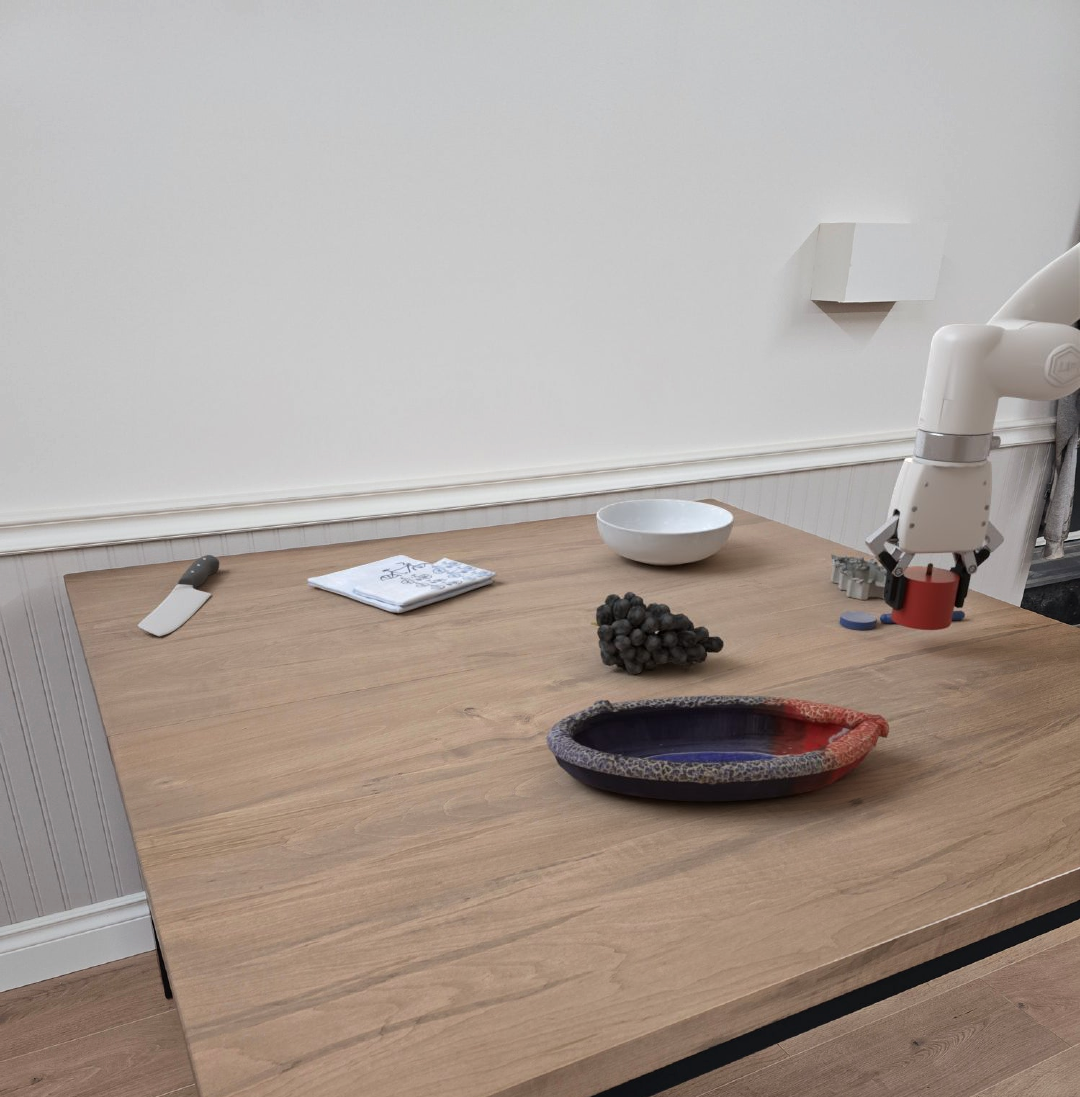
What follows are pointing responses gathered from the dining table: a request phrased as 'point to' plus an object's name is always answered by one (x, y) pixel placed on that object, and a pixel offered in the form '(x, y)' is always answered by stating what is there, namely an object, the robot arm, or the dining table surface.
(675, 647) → the fruit
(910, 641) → the dining table surface
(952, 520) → the robot arm
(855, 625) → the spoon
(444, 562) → the folded tea towel
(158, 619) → the kitchen knife
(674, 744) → the dish
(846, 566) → the egg carton
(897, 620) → the red stemmed cylinder
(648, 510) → the serving bowl
